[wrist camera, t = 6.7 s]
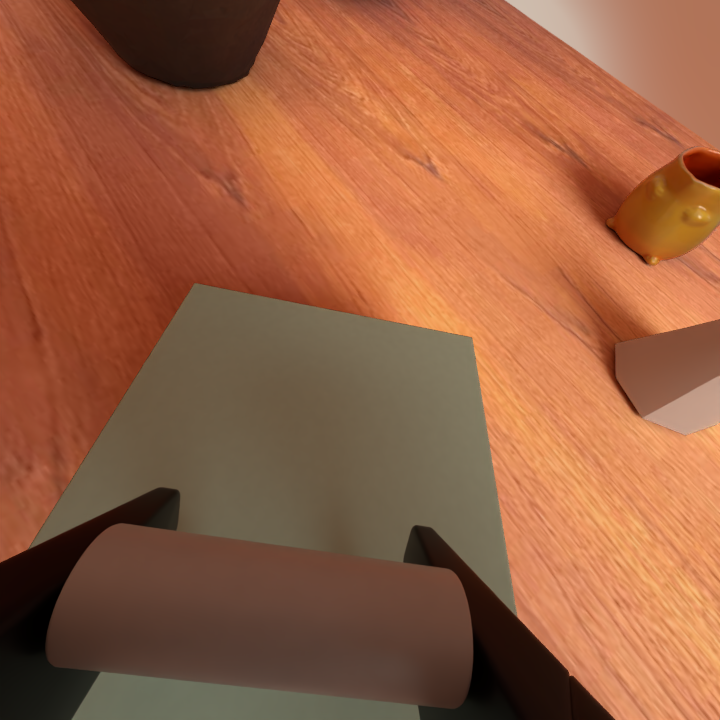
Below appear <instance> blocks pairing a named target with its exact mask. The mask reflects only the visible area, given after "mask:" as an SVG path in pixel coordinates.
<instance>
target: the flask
mask: <svg viewBox="0 0 720 720" xmlns="http://www.w3.org/2000/svg"><path fill="white" fill-rule="evenodd" d="M615 362H616V379H617V380H618V382H619V383H620V385H621V386H622V388H623V389H624V391H625V393H626V394H627V396H628V397H629V399H630V400H631V402H632V403H633V405H634V406H635V408H636V409H637V411H638V412H639V414H640V416H641V417H642V418H643V419H646V420H648V421H651V422H653V423H656V424H658V425H661V426H663V427H666V428H668V429H671V430H673V431H676V432H678V433H681V434H683V435H688V434H691V433H694V432H697V431H700V430H703V429H706V428H709V427H712V426H715V425H717V424H718V423H720V319H719V320H715V321H711V322H707V323H703V324H699V325H695V326H691V327H687V328H683V329H678V330H673V331H669V332H664V333H660V334H655V335H651V336H646V337H642V338H637V339H633V340H629V341H624V342H620V343H616V344H615Z"/></svg>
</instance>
